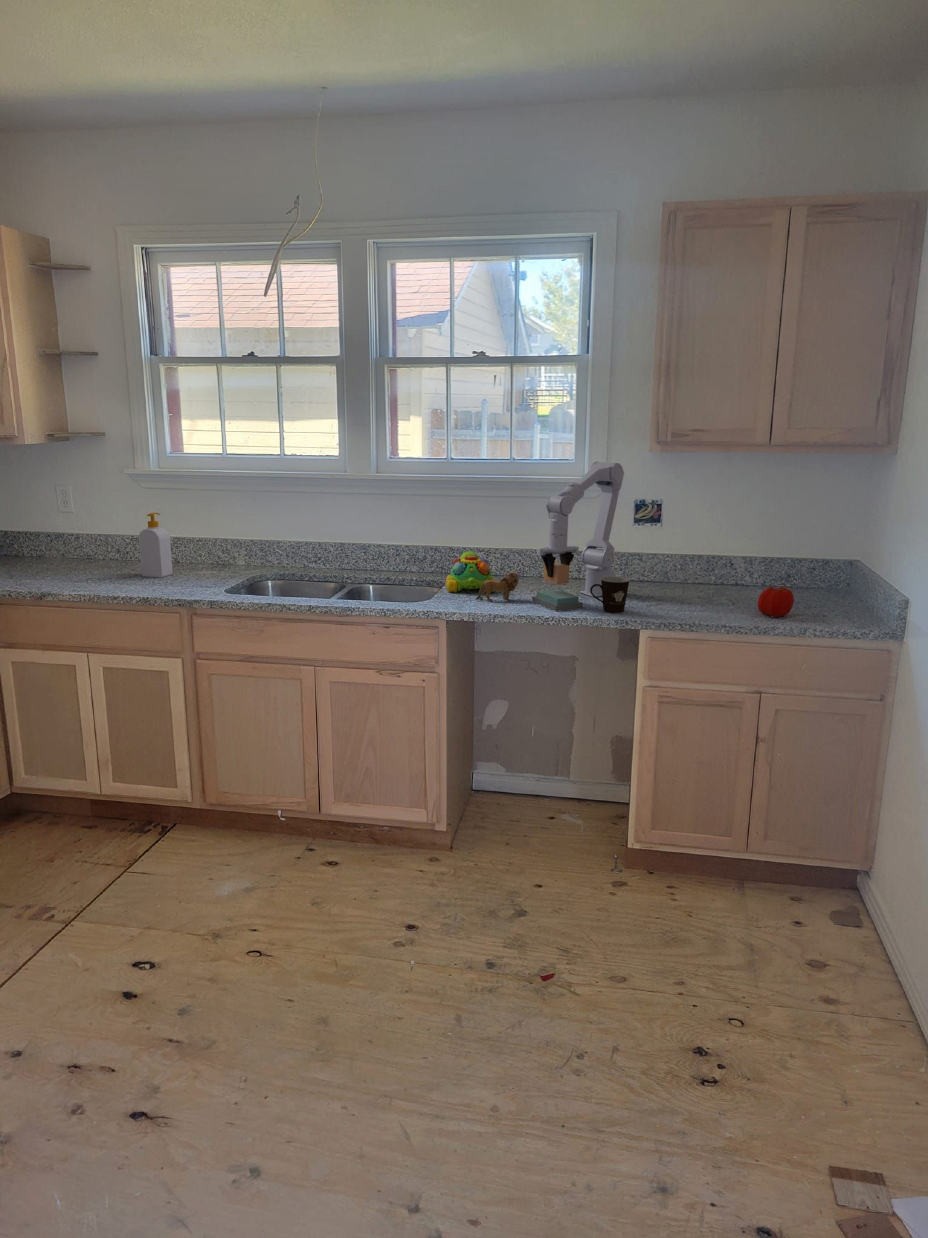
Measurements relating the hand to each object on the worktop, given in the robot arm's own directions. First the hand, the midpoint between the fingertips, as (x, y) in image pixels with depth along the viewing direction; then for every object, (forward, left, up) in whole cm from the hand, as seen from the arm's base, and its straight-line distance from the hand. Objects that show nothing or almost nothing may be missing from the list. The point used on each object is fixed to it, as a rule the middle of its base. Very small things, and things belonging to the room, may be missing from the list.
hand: (556, 576), depth 265 cm
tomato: (-52, +42, -9) cm, 68 cm away
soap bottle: (+109, -100, -9) cm, 148 cm away
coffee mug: (-10, +15, -9) cm, 20 cm away
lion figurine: (+14, -13, -9) cm, 21 cm away
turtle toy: (+14, -33, -9) cm, 37 cm away
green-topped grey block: (+1, +2, -9) cm, 9 cm away
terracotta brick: (0, 0, -2) cm, 2 cm away
